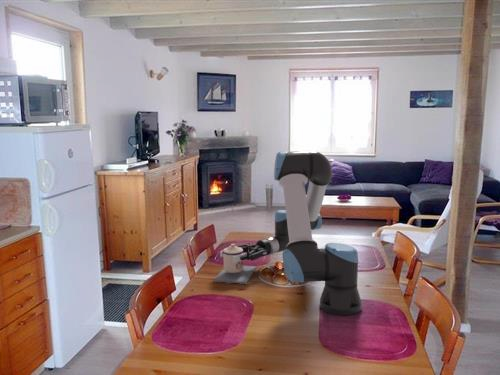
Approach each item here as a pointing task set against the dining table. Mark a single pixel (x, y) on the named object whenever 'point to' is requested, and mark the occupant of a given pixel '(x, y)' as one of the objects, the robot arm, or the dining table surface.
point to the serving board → (236, 275)
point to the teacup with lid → (228, 259)
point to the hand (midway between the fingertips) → (227, 256)
